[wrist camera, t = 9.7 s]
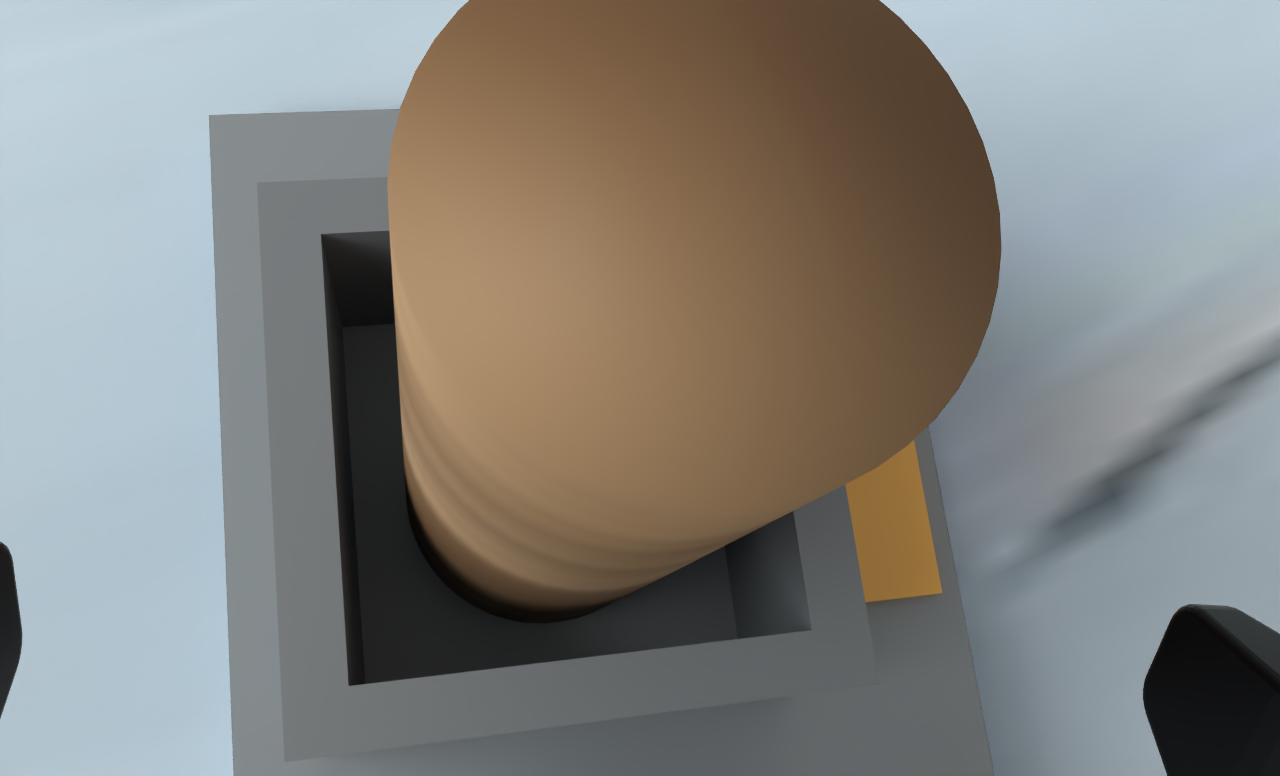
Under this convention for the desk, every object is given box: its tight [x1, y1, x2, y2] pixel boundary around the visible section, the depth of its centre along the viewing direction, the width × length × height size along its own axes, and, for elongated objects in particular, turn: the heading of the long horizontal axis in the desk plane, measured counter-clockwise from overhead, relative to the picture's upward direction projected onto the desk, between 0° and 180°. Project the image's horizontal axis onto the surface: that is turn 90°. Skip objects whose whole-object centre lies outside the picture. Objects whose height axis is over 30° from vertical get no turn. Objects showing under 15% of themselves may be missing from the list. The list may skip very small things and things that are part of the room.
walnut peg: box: [387, 0, 1001, 623], centre depth 14 cm, size 4×4×12 cm
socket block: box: [209, 109, 994, 776], centre depth 18 cm, size 22×12×5 cm, turn 7°
